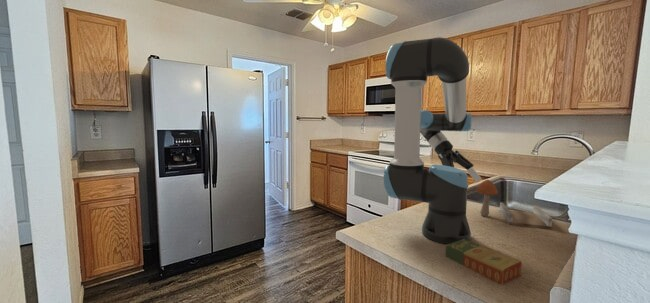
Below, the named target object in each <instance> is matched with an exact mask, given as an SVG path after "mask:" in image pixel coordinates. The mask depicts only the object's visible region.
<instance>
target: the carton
mask: <svg viewBox="0 0 650 303" xmlns="http://www.w3.org/2000/svg"><path fill="white" fill-rule="evenodd" d="M445 257H446V258H448V259H449V260H452V261H454V262H456V263H458V264H460V265H461V266H464V267H466V268H468V269H470V270H471V271H474V272H476V273H478V274H480V275H482V276H484V277H486V278H487V279H490V280H492V281H494V282H496V283H498V284H499V285H504V284H506V283H508V282H511V281H513V280H514V279H518V278H520V277H521V275H522V261H521V260H519V259H516V258H514V257H511V256H509V255H506V254H504V253H501V252H498V251H496V250H493V249H492V248H491V249H490V248H489V247H485V246H483V245H481V244H478V243H476V242H473V241H471V240H470V241H468V240H466V239H462V240H459V241H456V242H454V243H450V244H446V245H445Z"/></svg>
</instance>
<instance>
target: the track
mask: <svg viewBox="0 0 650 303" xmlns="http://www.w3.org/2000/svg"><path fill="white" fill-rule="evenodd" d="M498 211H499V213H500V215H501V216H502V217H503V218H504V220H505V221H506V223H507V224H508V225H510V226H519V227H527V228H529V227H530V228H535V229H536V228H537V229H544V230H546V229H547V230H552V225H553V218H552V217H551V216H550V215H548V213H546V212H545V211H544V210H543V209H542V208H540V207H539V206H538V205H536V204H535V205H533V212H531V211H522V210H521V211H520V210H510V209H509V208H508V207H507V206H506V204H505V203H504V202H502V201H501V202H499V210H498Z"/></svg>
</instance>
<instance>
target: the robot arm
mask: <svg viewBox="0 0 650 303" xmlns="http://www.w3.org/2000/svg"><path fill="white" fill-rule="evenodd" d="M469 73H470V62H469V58H468V55H467V54H466V53H465V51H464V49H463V48H462V47H460V45H458V44H457V43H456V42H454V41H453V40H451V39H448V38H446V37H441V36H440V37H433V38H424V39H414V40H408V41H407V40H404V41H402V42H397V43H396V42H395V43H394V44H392V45H391V46H390V47H389V49H388V52H387V54H386V58H385V76H386V78H387V79H389V80H390V84H391V86H393V87H394V88H395V93H394V94H395V99H394V100H395V102H394V104H395V105H394V107H395V108H394V145H393V146H394V150H393V152H394V153H393V158H392V159H390V161H389V165H387V166H385V168H384V171H383V173H384V174H383V185H384V189H385V193H386V194H387V196H388V197H390V198H393V199H398V200H402V201H410V202H411V201H412V202H420V203H426V204H428V206H427V207H428V210H427V213H426V216H425V218H424V220H423V223H422V226H421V234H422V235H423V236H424V237H425V238H427V239H429V240H431V241H433V242H436V243H441V244H446V245H447V244H450V243H454V242H456V241H459V240H462V239H466V240H468V241H471V238H472V237H471V236H472V232H471V228H470V225H469V221H468V218H467V201H468V199H467V198H468V188H469V184H468V183H469V182H468V179H469V177H468V174H469V176H470V177H471V178H472V179H473V181H474V182H476V183H479V182H480V181H481V180H483V179H482V178H483V177H481V176H480V175H479V173H478V172H477V171H476V170H475V169H474V168H473V167H474V164H473V163H472V162H471V161H470V160H469V159H468V158H466V157H465V156H464V155H463V154H462V153H460V151H458V150H455V151H454V150H453V147H454V145H453V144H452V143H451V141H450V140H448V138H447V136H446V135H444V133H443V132H445V131H446V132H447V131H448V132H468V131H470V130H471V129H472V117H473V116H472V113H469V112H467V77H468V76H469ZM435 76H436V77H438V80H440V81H441V84H442V85H441V86H442V95H443V101H444V102H443V104H444V110H445V112H444V113H441V112H438V113H437V112H436V113H432V112H431V111H430V110H427V109H424V110H422V96H423V95H422V94H423V93H422V92H423V91H422V90H423V86H425V85H426V84H427V83H428V77H435ZM421 135H422V137H423V138H424V139H425V140H426V142H427V143H428V144H429V146H430V148H432V149H433V150H434V152H435V153H436V154H437V157H438V159H439V160H440V162H441V164H431V165H430V166H429V168H425V163H424V161H423V160H422V159H421V158H420V150H421V148H420V147H421V146H420V145H421ZM454 163H456V164H458V166H460V167H462V168H464V169H465V170H466V171H465V170H463V169H460V168H457V167H455V164H454Z"/></svg>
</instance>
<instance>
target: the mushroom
mask: <svg viewBox="0 0 650 303" xmlns="http://www.w3.org/2000/svg"><path fill="white" fill-rule="evenodd" d="M475 192H477V193H478V194H482V195H483V201H482V206H481V209H480V213H479V214H480V215H481V217H488V216H489V215H490V198H491V196H495V195H498V194H499V191H498V189H497V186H496V185H495V184H494V182H492V181H491V180H489V179H485V180H484V181H482V182H481V183H480V184H479V185H478V186H477V187H476V189H475Z"/></svg>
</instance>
